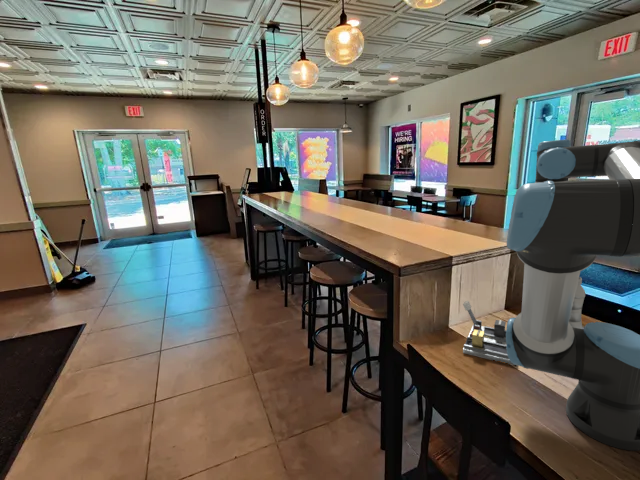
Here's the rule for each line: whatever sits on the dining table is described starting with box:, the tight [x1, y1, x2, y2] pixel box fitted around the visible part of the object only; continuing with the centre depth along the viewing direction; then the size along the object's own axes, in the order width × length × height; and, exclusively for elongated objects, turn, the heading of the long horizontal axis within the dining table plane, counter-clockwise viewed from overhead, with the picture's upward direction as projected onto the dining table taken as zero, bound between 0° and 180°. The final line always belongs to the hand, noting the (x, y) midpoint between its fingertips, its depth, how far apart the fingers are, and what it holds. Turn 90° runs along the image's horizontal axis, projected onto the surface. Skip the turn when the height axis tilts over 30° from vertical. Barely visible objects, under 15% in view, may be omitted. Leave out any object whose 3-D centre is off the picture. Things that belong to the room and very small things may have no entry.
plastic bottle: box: [569, 276, 586, 329], centre depth 109 cm, size 6×7×20 cm
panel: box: [462, 319, 515, 366], centre depth 107 cm, size 18×15×4 cm
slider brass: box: [472, 330, 484, 348], centre depth 105 cm, size 4×3×5 cm
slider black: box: [493, 319, 507, 337], centre depth 109 cm, size 4×3×5 cm
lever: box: [462, 300, 479, 325], centre depth 114 cm, size 2×2×10 cm
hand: (543, 273), depth 96 cm, fingers closed
